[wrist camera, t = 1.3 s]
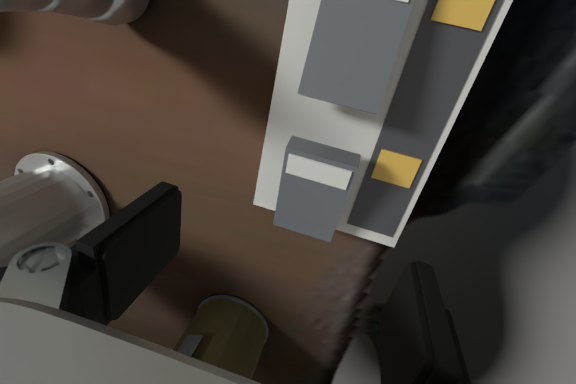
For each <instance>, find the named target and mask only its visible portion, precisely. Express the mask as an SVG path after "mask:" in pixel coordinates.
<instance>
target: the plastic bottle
mask: <svg viewBox="0 0 576 384" xmlns="http://www.w3.org/2000/svg"><path fill="white" fill-rule="evenodd" d="M149 1H150V0H0V12H6V11H8V12H31V11H37V12H54V13H60V14H66V15H72V16H78V17H83V18H86V19H88V20H91V21H94V22H98V23H103V24H107V25H121V24H125V23H129V22H132V21H134V20H137V19H138V18H139V17H140V16H141V15H142V14H143V13H144V11H145V10H146V8H147V6H148V4H149Z"/></svg>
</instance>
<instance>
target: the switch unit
mask: <svg viewBox="0 0 576 384" xmlns="http://www.w3.org/2000/svg"><path fill="white" fill-rule="evenodd" d="M512 1H513V0H414V3H413V6H412V9H411V12H410V15H409V18H408V22H407V25H406V28H405V31H404V34H403V37H402V40H401V43H400V46H399V49H398V52H397V55H396V58H395V61H394V64H393V67H392V71H391V74H390V77H389V80H388V83H387V86H386V89H385V92H384V95H383V98H382V101H381V104H380V107H379V110H378V113H377V114H375V115H374V114H370V113H367V112H363V111H359V110H355V109H352V108H348V107H344V106H340V105H336V104H333V103H329V102H325V101H321V100H317V99H314V98H310V97H306V96H302V95H300V94H298V89H299V85H300V81H301V77H302V73H303V69H304V65H305V61H306V58H307V54H308V50H309V46H310V42H311V38H312V34H313V30H314V26H315V22H316V18H317V14H318V10H319V7H320V3H321V0H289V5H288V10H287V16H286V22H285V27H284V33H283V39H282V44H281V50H280V56H279V61H278V67H277V73H276V78H275V84H274V90H273V95H272V101H271V107H270V112H269V118H268V124H267V129H266V135H265V141H264V146H263V152H262V158H261V163H260V169H259V175H258V180H257V186H256V192H255V197H254V203H253V204H254V205H258V206H261V207H264V208H267V209H271V210H274V211H275V210H276V204H277V198H278V192H279V186H280V179H281V173H282V167H283V161H284V155H285V149H286V146H287V144H288V142H289V140H290V138H291V137H292V136H296V137H299V138H303V139H306V140H310V141H314V142H317V143H321V144H324V145H328V146H332V147H335V148H339V149H342V150H346V151H349V152H353V153H357V154H360V155H361V157H360V162H359V168H358V170H357V173H356V176H355V178H354V181H353V183H352V186H351V189H350V191H349V194H348V197H347V199H346V202H345V205H344V207H343V210H342V212H341V215H340V218H339V220H338V223H337V226H336V228H335V230H339V231H342V232H345V233H348V234H352V235H355V236H358V237H361V238H365V239H368V240H371V241H374V242H377V243H381V244H384V245H387V246H390V247H395V245H396V243H397V241H398V239H399V236H400V234H401V232H402V230H403V228H404V226H405V224H406V222H407V220H408V218H409V216H410V214H411V212H412V209H413V207H414V205H415V203H416V201H417V199H418V197H419V195H420V193H421V191H422V189H423V187H424V184H425V182H426V180H427V178H428V176H429V174H430V172H431V170H432V168H433V166H434V164H435V162H436V159H437V157H438V155H439V153H440V151H441V149H442V147H443V145H444V143H445V141H446V139H447V137H448V134H449V132H450V130H451V128H452V126H453V124H454V122H455V120H456V118H457V116H458V114H459V112H460V110H461V107H462V105H463V103H464V101H465V99H466V97H467V95H468V93H469V91H470V89H471V87H472V85H473V82H474V80H475V78H476V76H477V74H478V72H479V70H480V68H481V66H482V64H483V62H484V60H485V57H486V55H487V53H488V51H489V49H490V47H491V45H492V43H493V41H494V39H495V37H496V35H497V33H498V30H499V28H500V26H501V24H502V22H503V20H504V18H505V16H506V14H507V12H508V10H509V8H510V5H511V3H512Z"/></svg>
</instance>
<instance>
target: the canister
mask: <svg viewBox="0 0 576 384" xmlns="http://www.w3.org/2000/svg"><path fill="white" fill-rule="evenodd" d="M268 335H269V329H268V325H267V322H266V320H265V318H264V317H263V315H262V314H261V313H260V312H259V311H258V310H257V309H256V308H255V307H253V306H252V305H250V304H249V303H248V302H246V301H244V300H242V299H239V298H237V297H234V296H229V295H215V296H211V297H208V298H207V299H205V300H203V301H202V302H201V303H200V305H199V307H198V310H197V313H196V314H195V316H194V317H193V319H192V321H191V322H190V324H189V325H188V327H187V329H186V330H185V332H184V333H183V335H182V337H181V338H180V340H179V341H178V343H177V345H176V346H175V348H174V349H173V351H176V352H179V353H181V354H184V355H187V356H189V357H192V358H195V359H197V360H200V361H203V362H205V363H208V364H211V365H213V366H216V367H219V368H221V369H224V370H227V371H229V372H232V373H235V374H237V375H240V376H242V377H245V378H248V379H250V380H252V378H253V375H254V372H255V369H256V366H257V364H258V361H259V358H260V355H261V352H262V349H263V346H264V344H265V343H266V341H267V339H268Z"/></svg>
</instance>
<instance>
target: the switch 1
mask: <svg viewBox="0 0 576 384" xmlns="http://www.w3.org/2000/svg"><path fill="white" fill-rule="evenodd" d="M413 3H414V0H321V3H320V7H319V10H318V14H317V18H316V22H315V26H314V30H313V34H312V38H311V42H310V46H309V50H308V54H307V58H306V61H305V65H304V69H303V73H302V77H301V81H300V85H299V89H298V94H300V95H302V96H306V97H310V98H314V99H317V100H321V101H325V102H329V103H333V104H336V105H340V106H344V107H348V108H352V109H355V110H359V111H363V112H367V113H370V114H374V115H375V114H377V113H378V110H379V107H380V104H381V101H382V98H383V95H384V92H385V89H386V86H387V83H388V80H389V77H390V74H391V71H392V67H393V64H394V61H395V58H396V55H397V52H398V49H399V46H400V43H401V40H402V37H403V34H404V31H405V28H406V25H407V22H408V18H409V15H410V12H411V9H412V6H413Z"/></svg>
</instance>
